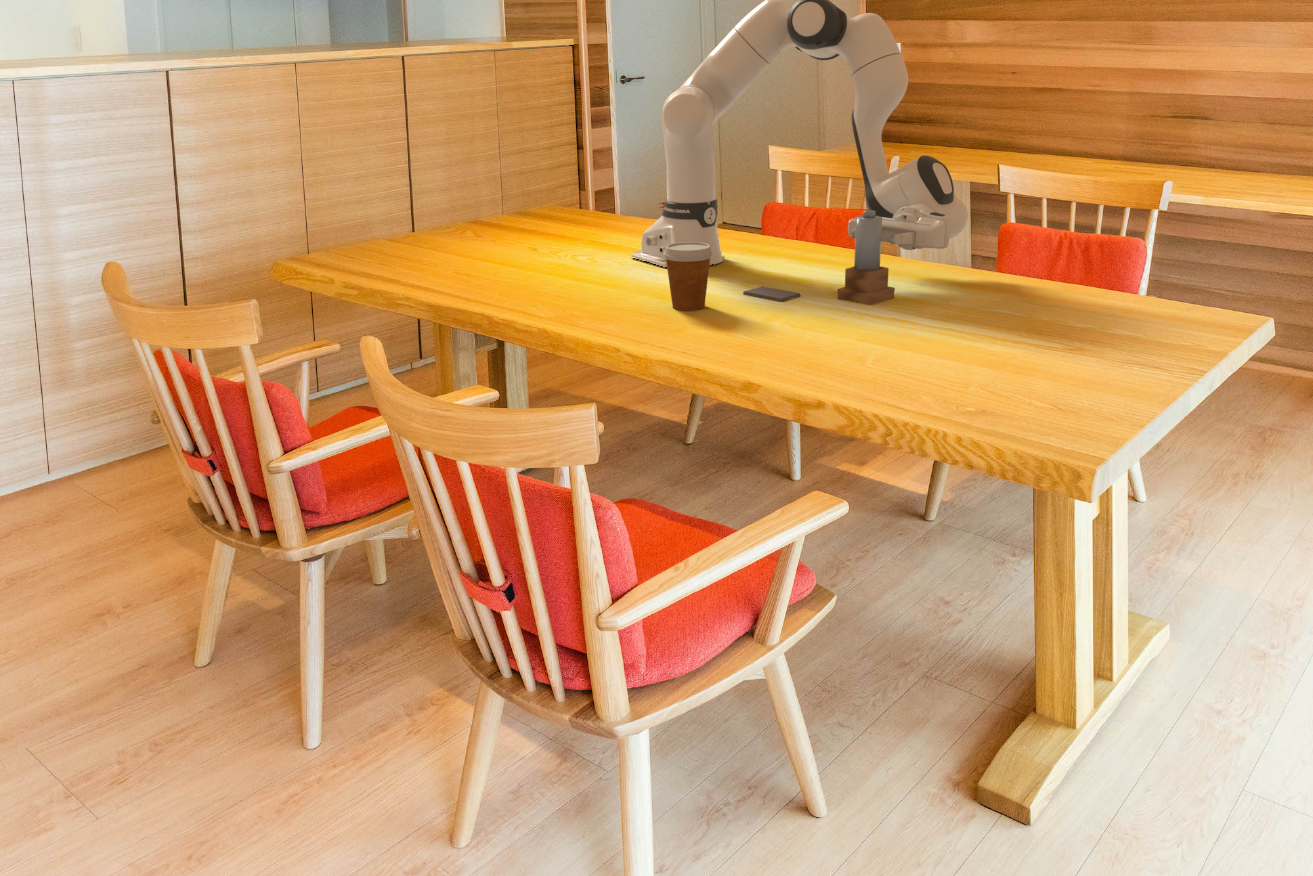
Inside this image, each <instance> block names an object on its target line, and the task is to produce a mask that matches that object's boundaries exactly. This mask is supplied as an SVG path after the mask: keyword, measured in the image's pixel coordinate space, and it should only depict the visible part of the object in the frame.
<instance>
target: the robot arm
mask: <svg viewBox="0 0 1313 876" xmlns="http://www.w3.org/2000/svg"><path fill="white" fill-rule="evenodd" d="M792 47H793V48H795V49H796V50H798V51H800V52H802V53H804V54H806V55H807V56H809V57H811V58H812V59H816V60H819V61H830V60H834V59H835V58H838V57H839V56H841V57H842V59H843V61H844V63H845V65H846V67H847V70H848V72H849V74H850V77H851V80H852V84H853V91H854V107H853V109H852V112H851V125H852V126H851V127H852V133H853V136H854V142H855V146H856V150H857V155H858V160H859V165H860V170H861V174H862V179H863V184H864V185H863V186H864V200H865V205H866V208H867V210H873V211H876V213H875V216H881V217H882V232H881V243H882V242H883V243H890V245H897V246H898V247H899V248H900V249H903V250H907V251H914V250H917V249H918V250H921V249H941V250H942V249H946V248H948V247H949V243H950V240H951V239H953V238H956V237H957V236H959V234H960V233H962V232H963V230H964V228H966V225H967V222H968V220H969V219H968V218H969V212H968V209H967V206H966V205H965V203H964V202H963V201H962V200H961V199H960V198H958V197H957V196H956V195H955V192H954V191H955V190H954V189H955V188H954V184H953V179H952V175H951V173H950V171H949V170H948V167H947V166H946V165H945V164H944V163H943V162H942V161H940V160H938V159H937V158H935V157H934V156H931V155H926V154H925V155H920V156H919V157H917V158H915V159H913V160H911V161H909V162H908V163H906V164H904V165H903V166H901V167H900V168H897V169H895V170H894V171H892V172H889V169H888V164H887V159H886V154H885V151H884V150H885V149H884V146H883V140H882V136H883V135H882V134H883V129H884V127H885V125H886V122H887V120H888V119H889V118H890V116H891V114H892V113H893V112H894V110H895V109H897V107H898V106H899V104H900V102H901V101H902V100H903V98H904V97H905V96H906V95H905V94H906V92H907V89H908V85H909V74H908V70H907V66H906V63H905V60H904V58H903V56H902V54H901V51H900V49H899V46H898V44H897V41H896V40H895V38H894V35H893V33H892V32H891V30H890V28H889V26H888V25H887V23H886V22H885V20H884V19H883V17H882V16H880V15H879V14H877V13H874V12H866V13H860V14H857V15H856V16H853V17H848V15H847V13H846V12H844V11H843V10H842V9H841V8H839V7H838V6H837V5H836V4H834V3H833V2H832V1H831V0H797V1H796V2H794V4H793V5H792V7H791V6H790V5H789V4H788V3H787V2H786V1H784V0H763V1H762V2H761V3H759V4H758V5H757V6H756V7H754V8H753V9H752V10H750V11H749V12H748V13H747V14H746V15H745V16H744V17H743V18H741V19H740V20H739V21H738V23H736V25H735V26H734V27H732V29H731V30H730V31H729V32H728V33H727V34H726V36H725V37H723V39H722V40H721V41H720V42H719V43H718V44H717V45H716V47H714V49H713V50H712V51H710V53H709V54H708V55H707V56H706V58H705V59H703V61H702V62H700V65H698V67H697V68H696V69H695V70H694V71H693V72H692V74H691V75H689V77H688V78H687V79H686V80H685V81H684V83H682V85H681V86H680V87H678V89H677V90H675V91H673V92H672V93H671V94H669V96H668V97H667V98H666V99H665V101H664V103H663V106H662V109H661V110H662V111H661V116H662V119H661V121H662V132H663V133H662V136H663V145H664V146H663V147H664V154H665V162H666V163H665V164H666V165H665V166H666V193H667V194H666V200H665V201H664V202H663V201H662V202H658V205H659V206H658V209H662V212H661V216H660V217H659V218H658V219H657V220H656V221H655V222H653V223H652V224H651V225H650V226H649V227H648V228H647V229H645V231H644V232H643V234H642V236H641V248H640V249H641V250H638V251H635V252H633V253H631V258H632V257H635V258H637V259H641V260H645V261H647V262H651V263H653V264H656V265H655V266H657V265H659V266H658V267H660V266H663V267H662V268H665V267H667V263H666V258H665V256H664V254H663V253H664V252H665V248H666V246H667V245H669V244H673V243H680V242H699V243H706V244H708V245H710V248H711V251H712V252H713V253H712V255H711V258H710V264H709V266H712V264H713V265H716V264H720V263H721V262H723V261H724V258H723V253H722V251H721V246H720V245H721V244H720V239H719V229H718V222H717V217H718V214H719V213H718V210H719V209H718V208H719V205H718V199H717V198H716V160H715V148H714V145H715V144H714V125H715V123H716V122H717V121H718V120H719V119H720V118H721V117H722V116H723V115H724V113H725V112H727V110H728V109H729V108H730V107H731V106H732V105H733V104H734V103H735V102H736V100H738V99H739V97H741V96H742V95H743V94H744V93H745V91H746V90H747V89H749V87H751V85H753V83H754V82H755V80H757V79H758V77H760V76H761V74H763V72H765V70H766V69H767V68H768V67H769V66H770V65H771V64H772V63H773V62H774V61H775V60H776V59H777V57H779V55H780V54H782V52H784V51H785V50H787V49H789V48H792ZM847 224H848V225H847V235H848V236H849V238H851V239H854V240H855V232H856V217H855V218H854V217H853V218H851V219H849V221H848V223H847ZM653 264H652V265H653Z"/></svg>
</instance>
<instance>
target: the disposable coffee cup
mask: <svg viewBox="0 0 1313 876" xmlns="http://www.w3.org/2000/svg"><path fill="white" fill-rule="evenodd" d="M712 253H713V252H712V251H711V248H710V245H708V244H706V243H699V242H680V243H673V244H669V245H667V246H666V248H665V252H664V253H663V254H664V256H665V258H666V263H667V268H666V269H667V276H668V282H669V283H668V284H669V290H670V297H671V303H672V309H675V310H677V311H683V312H687V311H688V312H689V311H698V310H702V309H704V308H705V305H706V297H707V289H708V281H709V280H708V279H709V274H710V272H709V271H710V265H709V264H710V258H711V255H712Z"/></svg>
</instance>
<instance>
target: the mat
mask: <svg viewBox="0 0 1313 876" xmlns="http://www.w3.org/2000/svg"><path fill="white" fill-rule="evenodd" d="M743 295H745V296H751V297H757V298H762V299H766V300H770V301H771V300H772V301H777V302H785V301H789V300H793V299H796V298H798V297H801V292H796V291H791V290H786V289H785V290H784V289H779V288H775V287H769V286H764V285H762V286H758V287H755V288H751V289H746V290H744V291H743Z"/></svg>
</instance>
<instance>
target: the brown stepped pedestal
mask: <svg viewBox="0 0 1313 876" xmlns="http://www.w3.org/2000/svg"><path fill="white" fill-rule="evenodd" d="M889 270H890V269H889V267H885V266H880V269H879V270H875V271H860V270H856V269H854V266H852V267H847V268H845V270H844V271H845V273H844V274H845V276H844V277H845V278H844V286H843V287H840V288H837V300H842V301H847V302H853V303H858V304H859V303H860V304H863V305H869V306H871V305H874V304H878V303H881V302H884V301H887V300H891V299H893V298H895V292H896V291H895V289H896V288H895V287H893V286H889Z"/></svg>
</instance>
